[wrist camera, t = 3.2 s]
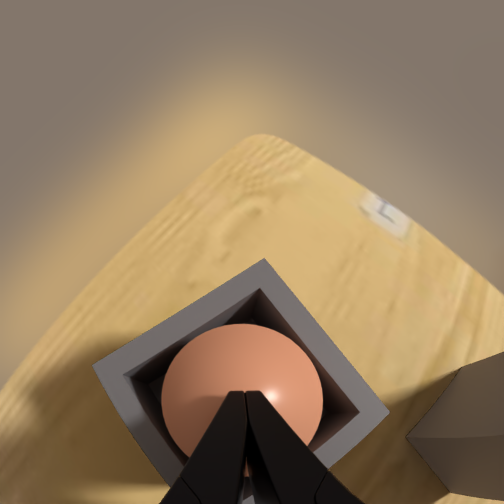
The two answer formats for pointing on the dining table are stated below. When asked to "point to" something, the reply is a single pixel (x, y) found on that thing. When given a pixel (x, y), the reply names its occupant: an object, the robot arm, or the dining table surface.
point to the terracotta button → (239, 381)
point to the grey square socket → (467, 431)
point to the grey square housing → (227, 313)
